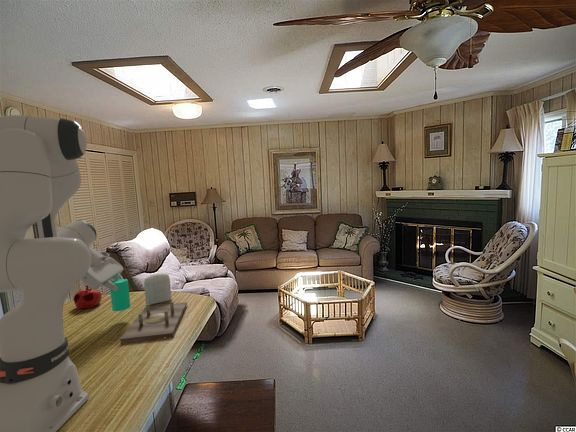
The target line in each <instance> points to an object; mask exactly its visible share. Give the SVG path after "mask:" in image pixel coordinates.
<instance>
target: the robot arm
mask: <svg viewBox="0 0 576 432" xmlns="http://www.w3.org/2000/svg"><path fill="white" fill-rule="evenodd" d="M87 146H88V140H87V136H86V133H85V131H84V128H83V127H82V125H80V123H78V122H77V121H76V120H72V119H67V118H60V119H59V118H53V117H45V116H44V117H43V116H35V115H28V114H27V115H25V114H23V115H22V114H19V115H17V114H15V115H13V114H11V115H8V114H7V115H0V293H8V292H16V291H22V293H23V301H22V303H20V304H17V305H16V306H14V307H13V308H11V309H10V310H8V311H7V312H5V313H4V314H3V315H2V316H1V318H0V432H58V430H59V429H61V428H62V427H63V425H64V424H65V423H66V422H67V421H68V420H69V419H70V418H71V417H73V415H74V414H75V413H76V412H77V411H78V410H79V409H80V408H81V407H82V406H83V405H84V404H85V403H86V402H87V400H88V399H89V395H88V393H87V392H86V391H84V390H83V387H82V383H81V380H80V376H79V372H78V368H77V366H76V364H74V363H73V361H72V360H71V358H70V356H69V354H70V344H69V342H68V341H69V340H68V338H67V337H66V336H65V328H64V327H65V326H64V311H63V310H64V306H65V301H66V299H67V296H68V295H69V293H70V292H71V289H72V288H73V287H74V286H75V285H76V284H77V283H79V281H82V282H83V283H84V284H85V286H86V285H87V286H88V288H89V289H90V288H91V289H94V290H97V291H98V290H99V288H101V287H102V286H104V287H105V288H107V289H109V290H110V289H112V290H114V291H117V290H118V289H119V286H117V285H116V284H114V283H112V282H111V281H113V279H114V280H117V279H118V277H119V279H124V278H123V276H122V272H123V271H124V267H123V265H122V264H120V263H119V262H118V261H117V260H115V259H114V257H111V256H110V254H109V253H108V252H106V251H98V250H96V249H94V248H92V247H91V246H90V245H92V244H93V243H94V241H96V239H97V236H98V235H97V234H98V233H97V230H96V228H95V226H93V225H92V224H91V223H89V222H88V221H85V220H80V219H77V220H74V221H73V222H70V223H69V224H67V225H65V226H63V227H57V224H56V217H57V214H58V212H59V210H60V209H61V208H62V207H63V206H64V205H65V204H66V202H68V201H69V200H70V199H71V198H72V197H74V195H75V194H76V193H77V192H78V190H79V189H80V187H81V183H82V174H81V171H80V167H79V164H78V163H79V162H78V160H77V159H80V158H82V157H83V156H84V155H85V154H86V151H87ZM31 227H32V232H33V237H34V238H25V237H26V234H27V232H28V230H29V229H30V228H31Z"/></svg>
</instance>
